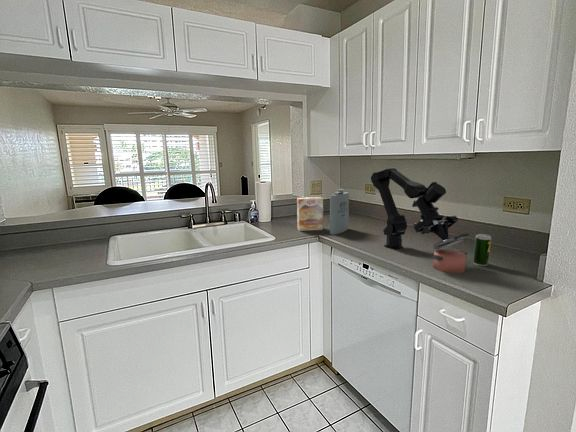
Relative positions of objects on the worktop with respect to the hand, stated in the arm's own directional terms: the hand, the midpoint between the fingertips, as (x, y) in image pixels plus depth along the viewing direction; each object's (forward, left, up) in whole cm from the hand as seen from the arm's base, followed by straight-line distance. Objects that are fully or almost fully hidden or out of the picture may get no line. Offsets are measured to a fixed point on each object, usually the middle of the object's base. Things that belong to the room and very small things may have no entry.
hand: (447, 241), depth 122 cm
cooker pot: (+2, 0, -10) cm, 10 cm away
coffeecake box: (-84, -6, -11) cm, 85 cm away
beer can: (+6, +14, -10) cm, 19 cm away
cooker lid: (+2, 0, 0) cm, 2 cm away
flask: (-69, +5, -10) cm, 70 cm away
